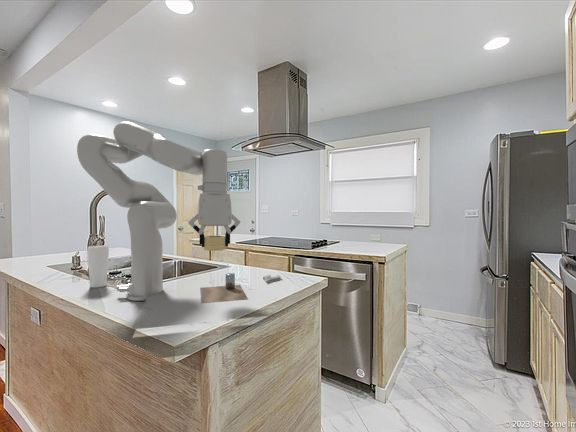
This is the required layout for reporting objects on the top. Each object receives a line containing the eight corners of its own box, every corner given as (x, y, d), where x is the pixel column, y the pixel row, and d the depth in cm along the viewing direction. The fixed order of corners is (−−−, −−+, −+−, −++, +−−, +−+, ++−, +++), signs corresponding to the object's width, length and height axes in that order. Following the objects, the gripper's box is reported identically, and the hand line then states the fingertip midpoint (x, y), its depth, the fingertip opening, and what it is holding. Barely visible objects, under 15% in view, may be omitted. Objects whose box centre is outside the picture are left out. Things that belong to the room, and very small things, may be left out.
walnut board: (201, 308, 89) (201, 303, 89) (200, 291, 107) (200, 287, 107) (248, 304, 94) (248, 299, 93) (240, 289, 111) (240, 284, 111)
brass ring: (204, 251, 91) (204, 237, 91) (203, 248, 98) (203, 235, 98) (226, 250, 93) (226, 237, 93) (224, 247, 100) (224, 235, 99)
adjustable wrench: (248, 295, 105) (248, 290, 105) (233, 292, 108) (233, 287, 108) (282, 279, 127) (282, 275, 127) (269, 277, 130) (269, 273, 130)
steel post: (226, 290, 104) (226, 275, 104) (225, 287, 107) (225, 273, 107) (235, 289, 105) (235, 274, 104) (234, 287, 108) (234, 273, 108)
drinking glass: (90, 284, 116) (90, 245, 115) (110, 283, 118) (110, 245, 117) (85, 289, 109) (84, 247, 109) (106, 288, 111) (105, 247, 111)
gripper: (185, 188, 89) (185, 249, 89) (244, 189, 94) (244, 247, 94) (186, 189, 96) (186, 245, 97) (241, 190, 101) (240, 244, 102)
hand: (214, 246), depth 95 cm, fingers closed on brass ring, 6 cm apart
